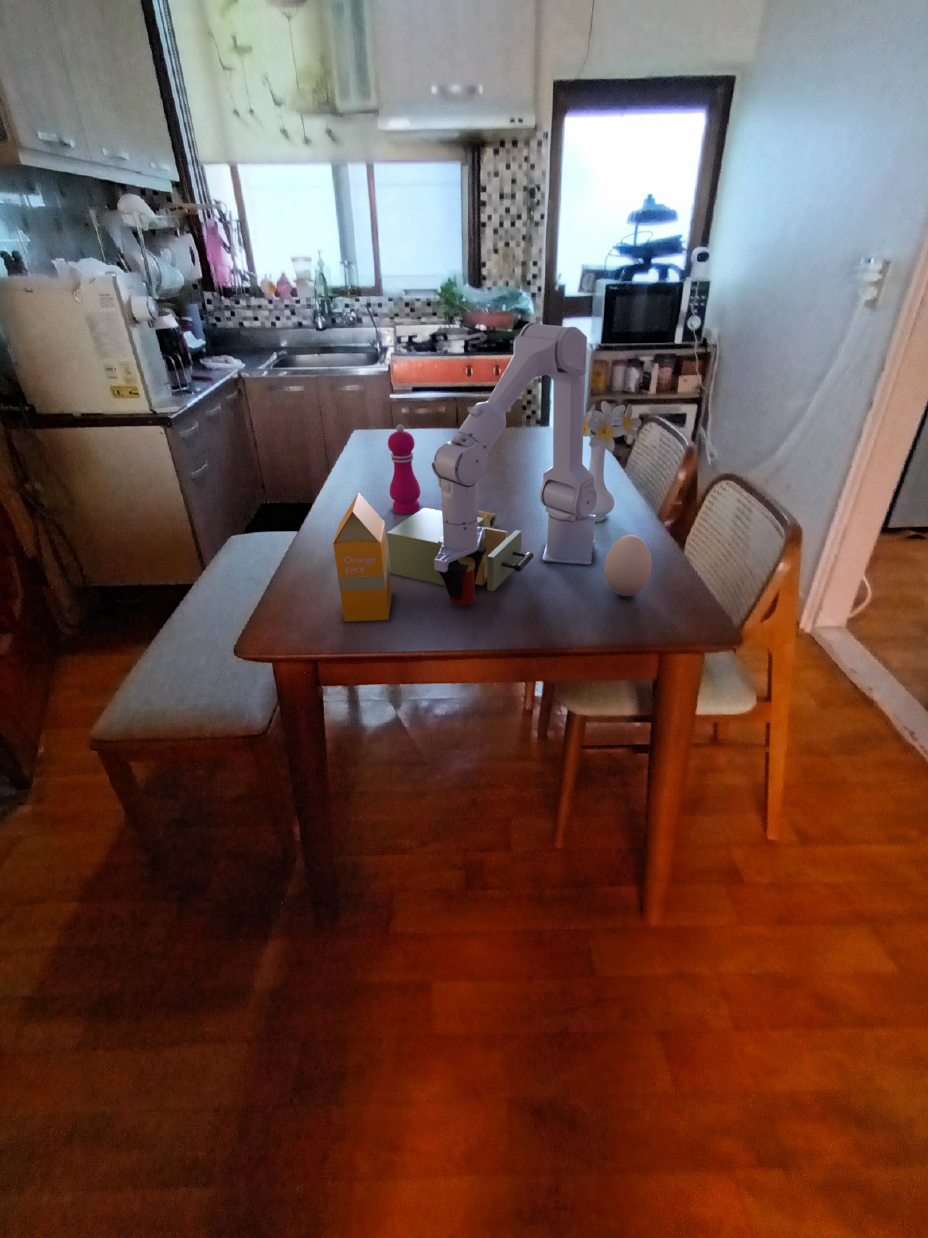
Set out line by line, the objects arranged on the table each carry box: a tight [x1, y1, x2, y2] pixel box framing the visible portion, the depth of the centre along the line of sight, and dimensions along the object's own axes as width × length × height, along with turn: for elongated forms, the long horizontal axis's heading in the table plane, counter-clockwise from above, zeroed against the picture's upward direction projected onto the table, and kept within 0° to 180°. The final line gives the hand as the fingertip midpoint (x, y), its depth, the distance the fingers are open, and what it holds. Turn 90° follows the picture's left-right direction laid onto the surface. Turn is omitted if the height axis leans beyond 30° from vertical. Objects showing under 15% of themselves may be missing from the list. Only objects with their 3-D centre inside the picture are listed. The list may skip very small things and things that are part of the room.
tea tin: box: [449, 556, 476, 606], centre depth 107 cm, size 5×5×7 cm
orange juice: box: [332, 491, 393, 622], centre depth 104 cm, size 8×9×20 cm
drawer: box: [475, 526, 534, 592], centre depth 116 cm, size 16×12×7 cm
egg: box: [603, 534, 653, 597], centre depth 109 cm, size 8×8×11 cm
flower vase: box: [583, 400, 642, 523], centre depth 135 cm, size 13×18×25 cm
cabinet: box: [386, 507, 484, 587], centre depth 121 cm, size 14×14×9 cm
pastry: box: [477, 510, 499, 529], centre depth 137 cm, size 9×7×4 cm
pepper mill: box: [387, 423, 421, 515], centre depth 143 cm, size 7×7×20 cm
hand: (462, 590), depth 108 cm, fingers closed on tea tin, 4 cm apart
